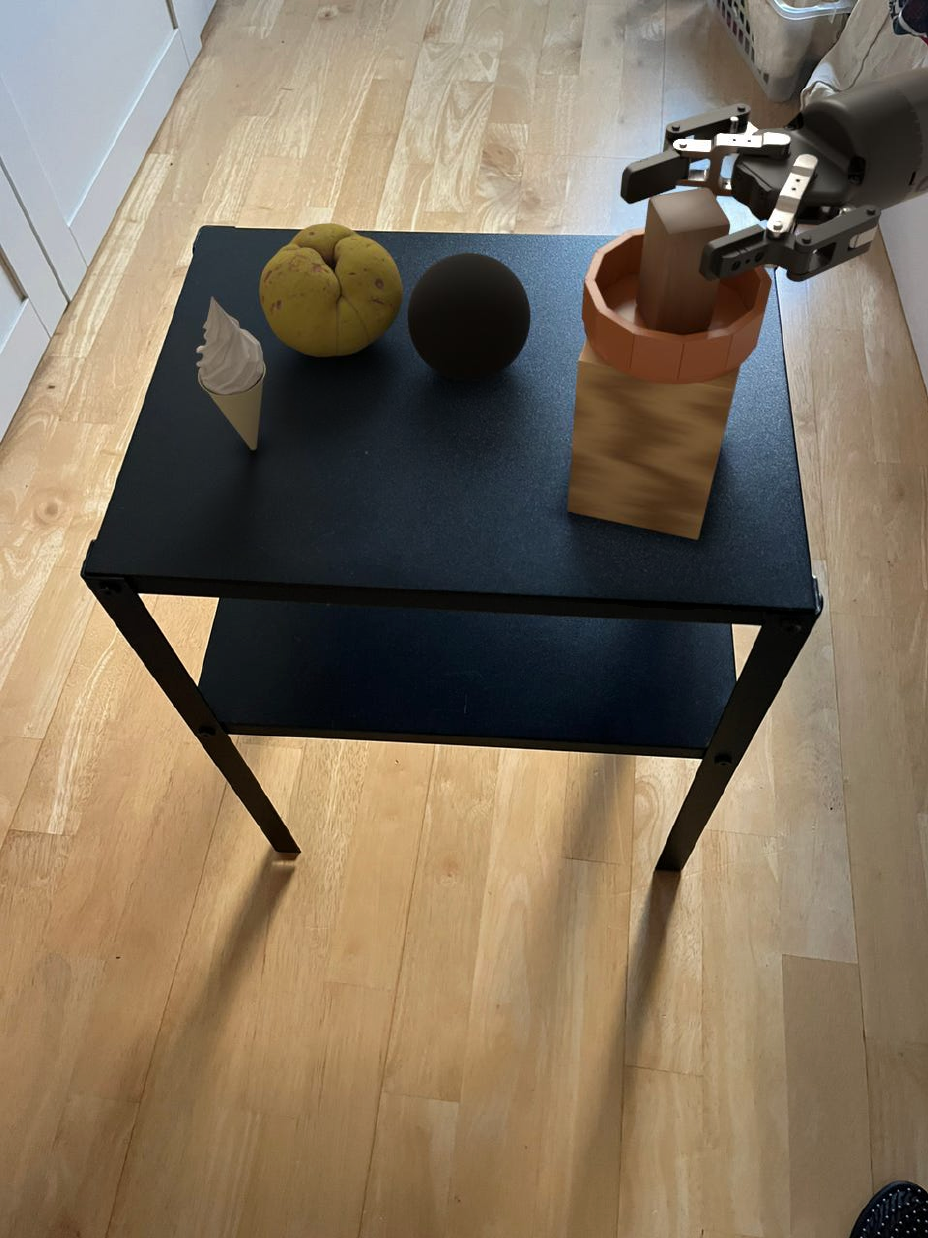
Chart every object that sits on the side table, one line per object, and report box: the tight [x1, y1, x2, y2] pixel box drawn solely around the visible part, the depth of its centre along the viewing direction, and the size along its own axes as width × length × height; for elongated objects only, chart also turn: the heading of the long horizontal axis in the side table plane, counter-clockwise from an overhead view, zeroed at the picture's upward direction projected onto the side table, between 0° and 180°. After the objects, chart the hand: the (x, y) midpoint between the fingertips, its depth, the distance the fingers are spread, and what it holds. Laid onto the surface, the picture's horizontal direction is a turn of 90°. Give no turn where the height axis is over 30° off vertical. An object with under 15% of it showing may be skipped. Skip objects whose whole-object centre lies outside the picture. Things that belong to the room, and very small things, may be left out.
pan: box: [581, 187, 773, 384], centre depth 69 cm, size 18×11×4 cm, turn 162°
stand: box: [566, 337, 742, 541], centre depth 75 cm, size 10×10×15 cm
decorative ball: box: [407, 252, 532, 382], centre depth 85 cm, size 10×10×10 cm
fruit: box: [258, 222, 404, 358], centre depth 87 cm, size 11×12×10 cm
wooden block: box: [636, 187, 731, 335], centre depth 65 cm, size 4×4×8 cm
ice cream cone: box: [196, 295, 267, 451], centre depth 78 cm, size 5×5×15 cm
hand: (662, 224), depth 61 cm, fingers open, 8 cm apart
